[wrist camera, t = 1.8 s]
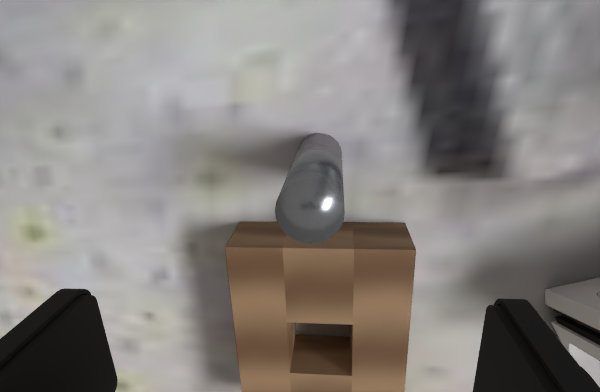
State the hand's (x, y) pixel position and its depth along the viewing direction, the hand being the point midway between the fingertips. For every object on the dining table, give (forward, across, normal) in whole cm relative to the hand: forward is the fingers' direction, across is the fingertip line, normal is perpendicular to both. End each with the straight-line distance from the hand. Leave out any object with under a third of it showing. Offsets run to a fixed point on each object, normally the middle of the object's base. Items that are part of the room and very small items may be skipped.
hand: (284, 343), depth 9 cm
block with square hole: (+18, 0, +13) cm, 22 cm away
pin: (+18, 0, 0) cm, 18 cm away
